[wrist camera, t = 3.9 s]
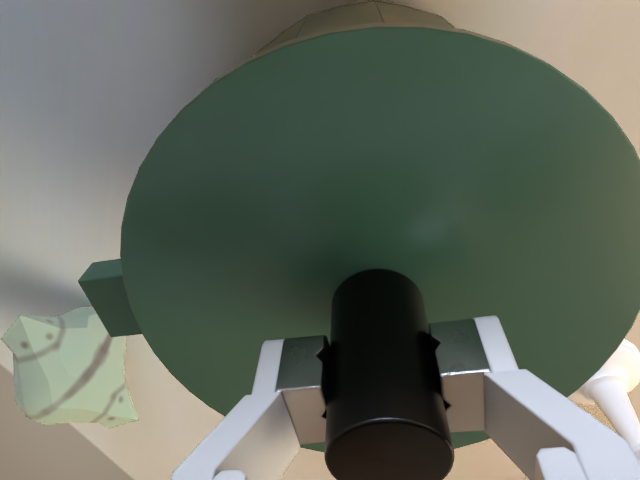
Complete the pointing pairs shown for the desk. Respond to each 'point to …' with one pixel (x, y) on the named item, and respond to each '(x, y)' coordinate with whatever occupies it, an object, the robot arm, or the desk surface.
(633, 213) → the pot lid
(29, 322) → the robot head
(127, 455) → the desk surface
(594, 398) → the chess piece
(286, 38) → the pot
